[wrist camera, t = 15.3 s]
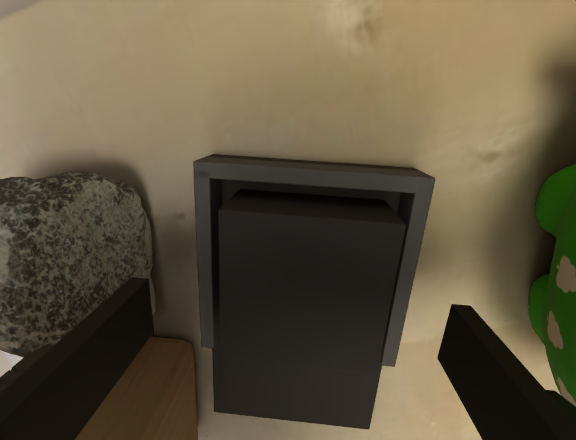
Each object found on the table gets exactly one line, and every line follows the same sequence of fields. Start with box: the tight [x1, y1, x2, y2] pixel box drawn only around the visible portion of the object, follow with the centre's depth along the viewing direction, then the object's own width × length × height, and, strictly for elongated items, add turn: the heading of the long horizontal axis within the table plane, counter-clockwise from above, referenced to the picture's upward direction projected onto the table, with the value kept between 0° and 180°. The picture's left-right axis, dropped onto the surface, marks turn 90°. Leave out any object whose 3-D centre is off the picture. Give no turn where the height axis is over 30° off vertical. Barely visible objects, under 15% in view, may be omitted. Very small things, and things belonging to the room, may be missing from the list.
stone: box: [0, 171, 156, 357], centre depth 16 cm, size 10×10×10 cm
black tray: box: [193, 154, 435, 429], centre depth 19 cm, size 19×11×3 cm, turn 177°
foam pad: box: [218, 189, 406, 374], centre depth 16 cm, size 8×8×4 cm
